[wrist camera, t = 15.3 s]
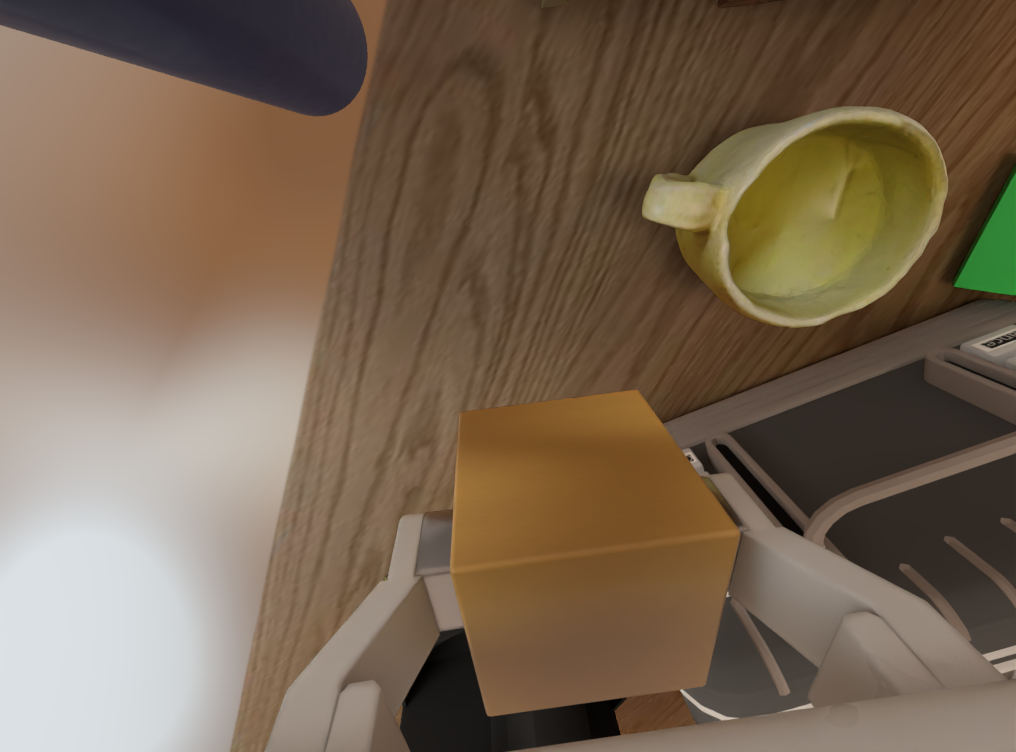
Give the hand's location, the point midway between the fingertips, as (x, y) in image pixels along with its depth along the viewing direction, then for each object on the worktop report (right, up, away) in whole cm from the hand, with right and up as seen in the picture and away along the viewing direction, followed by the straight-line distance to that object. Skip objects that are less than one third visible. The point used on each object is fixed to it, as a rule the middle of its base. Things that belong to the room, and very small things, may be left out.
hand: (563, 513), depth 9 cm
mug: (+11, +13, +15) cm, 23 cm away
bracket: (+32, +10, +12) cm, 36 cm away
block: (0, +1, +2) cm, 2 cm away
